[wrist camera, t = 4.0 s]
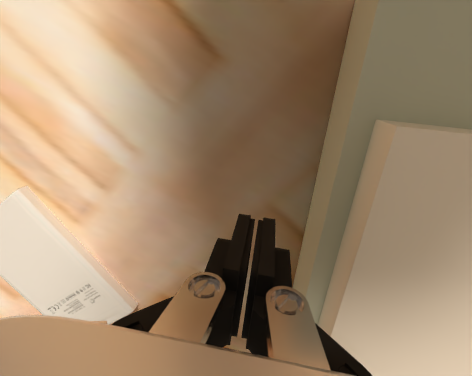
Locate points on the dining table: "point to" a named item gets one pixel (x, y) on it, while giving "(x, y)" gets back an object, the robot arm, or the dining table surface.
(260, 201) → the dining table surface
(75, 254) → the external hard drive
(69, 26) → the dining table surface
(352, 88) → the sage green block
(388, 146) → the cream flat block
